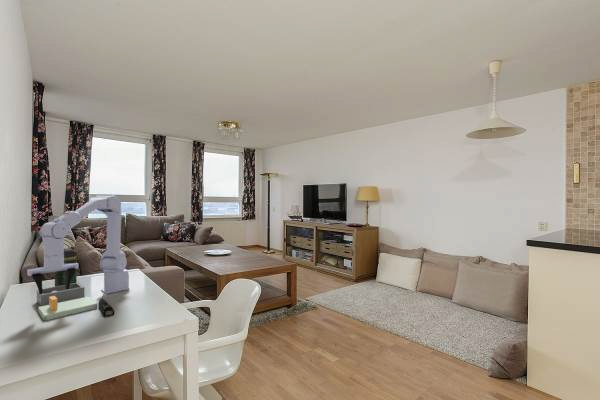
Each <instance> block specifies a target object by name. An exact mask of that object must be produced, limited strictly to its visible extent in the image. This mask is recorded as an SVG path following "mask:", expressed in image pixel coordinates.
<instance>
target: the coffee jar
mask: <svg viewBox="0 0 600 400" xmlns="http://www.w3.org/2000/svg"><path fill="white" fill-rule="evenodd" d="M77 260H78V259H77V251H76V250H75V249H71V248H70V247H69V248H68V247H66V248H64V264H72V263H78V262H77ZM75 270H76V272H75V274H74V276H73V278H72V280H71V282H70V284H72V283H78V282H77V270H78V269H75ZM65 282H66V276H65V270H63V271H56V272H54V287H55V286H61V285H65Z"/></svg>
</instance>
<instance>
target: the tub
mask: <svg viewBox="0 0 600 400" xmlns="http://www.w3.org/2000/svg"><path fill="white" fill-rule="evenodd" d="M42 290H43V294H39V290H38V289H36V303H37V305H38V307H41V306H46V305H49V297H51V296H55V297H56V298H57V303H60V302H65V301H70V300H74V299H79V298H84V297H85V286H84V285H82V284H81V283H80V282H77V283H72V284H70V286H69V289H66V288H65V285H61V286H55V285H54V286H50V287H44V288H42Z"/></svg>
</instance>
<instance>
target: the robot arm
mask: <svg viewBox="0 0 600 400" xmlns="http://www.w3.org/2000/svg"><path fill="white" fill-rule="evenodd" d="M96 210H97V211H99V212H101V213H103V214H104V215H105V216H106V217H107V219H106V249H105V251H104V252H103V253H102V254H101V258H100V261H99V267H100V269H101V270H102V272H103V284H104V285H103V288H100V289H101V292H103V293H104V294H105V295H108V294H112V293H116V292H121V291H127V290H130V284H129V283H130V274H129V270H128V269H126V267H127V265H128V261H127V257H126V253H125V252H124V251H123V250H122V249H121V238H122V237H121V233H122V230H121V229H122V200H121V199H120V198H119V197H118V196H117V195H94V196H93V197H91V198H90V197H89V200H88V201H87V202H86V203H84V204H83V205H82V206H80V207H79V208H77V209H76V210H67V211H65V212H64V214H62V215H61V216H59V217H58V218H54V219H53V220H52V221H51V222H45V223H43V225H42V226H41V227H40V228H39V229H40V230H38V234H39V236H40V237H41V239H42V242H43V266H42V267H35V268H31V269H27V270H26V271H27V276H28V277H32V279H33V281H34V283H35V284H36V287H37V290H39V294H43V290H42V289H43V276H42V275H43V274H47V273H55V272H56V271H63V270H65V276H66V282H65V288H66V289H69V286H70V282H71V280H72V278H73V276H74V274H75V272H76V270H75V269H77V270H78V269H79V266H80V265H79V264H80V263H78V262H77V263H72V264H64V249H65V248H64V245H65V243H64V241H65V240H64V238H65V237H66V236H67V235H68V233H69V231H70V230H71V229H73V228H74V227H75V226H77V225H79V224H80V223H81V222H82V218H83V217H85V216H87V215H89V214H90V213H92V212H94V211H96Z"/></svg>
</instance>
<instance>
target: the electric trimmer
mask: <svg viewBox="0 0 600 400" xmlns="http://www.w3.org/2000/svg"><path fill="white" fill-rule="evenodd" d="M98 309H99V311H102V313H101V314H102V317H103V318H108V317H112V316H114V315H115V309H114V308H113V307H112V305H110V303H108V302H107V301H106V299H104V298H102V297H101V298H100V299H99V301H98Z"/></svg>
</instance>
